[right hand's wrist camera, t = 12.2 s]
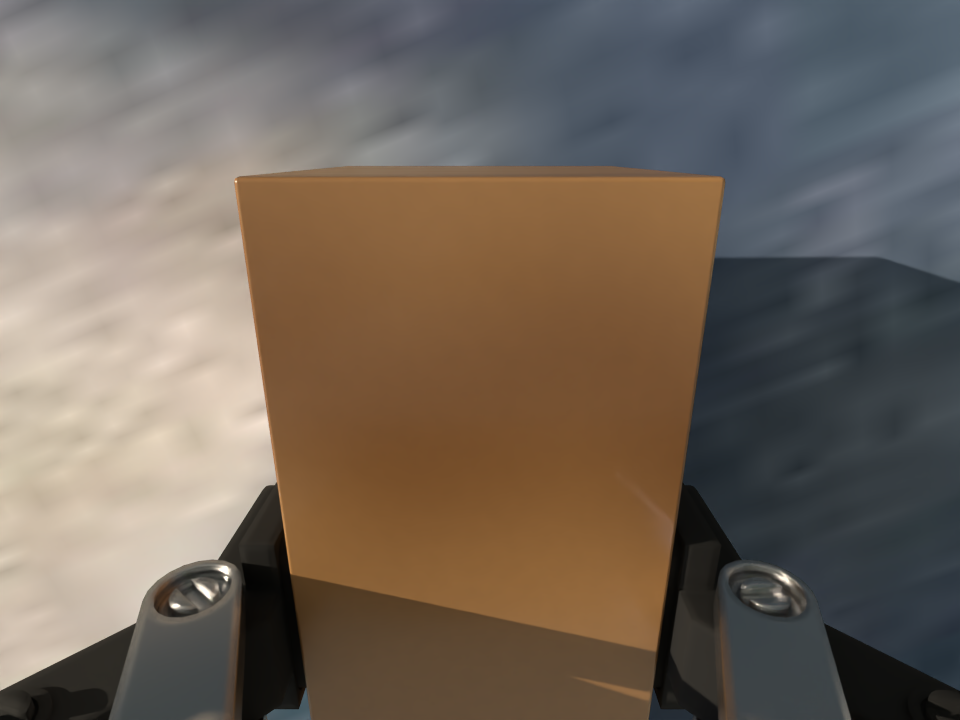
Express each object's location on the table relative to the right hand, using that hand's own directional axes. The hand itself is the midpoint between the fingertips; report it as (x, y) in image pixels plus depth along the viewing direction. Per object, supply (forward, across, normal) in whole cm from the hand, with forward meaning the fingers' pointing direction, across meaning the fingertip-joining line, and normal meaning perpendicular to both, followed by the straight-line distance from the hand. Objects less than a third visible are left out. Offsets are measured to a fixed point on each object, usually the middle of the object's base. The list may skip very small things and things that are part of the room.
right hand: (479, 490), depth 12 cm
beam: (+2, 0, -31) cm, 31 cm away
